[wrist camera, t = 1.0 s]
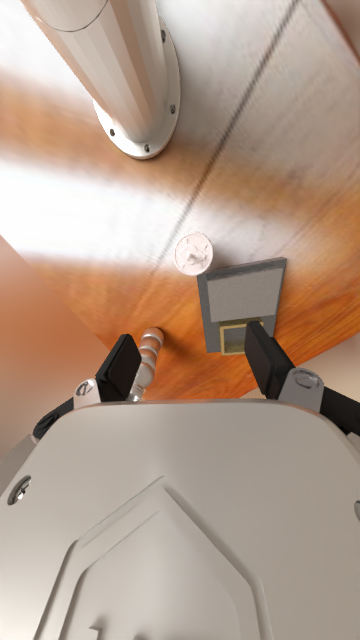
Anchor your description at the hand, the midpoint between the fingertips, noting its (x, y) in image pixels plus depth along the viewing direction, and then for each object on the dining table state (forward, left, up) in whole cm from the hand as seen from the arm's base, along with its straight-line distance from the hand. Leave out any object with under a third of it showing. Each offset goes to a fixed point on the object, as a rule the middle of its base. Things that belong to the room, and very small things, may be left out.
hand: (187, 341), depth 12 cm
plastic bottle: (+17, -14, -25) cm, 33 cm away
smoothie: (-4, +1, -25) cm, 26 cm away
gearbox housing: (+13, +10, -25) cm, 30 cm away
